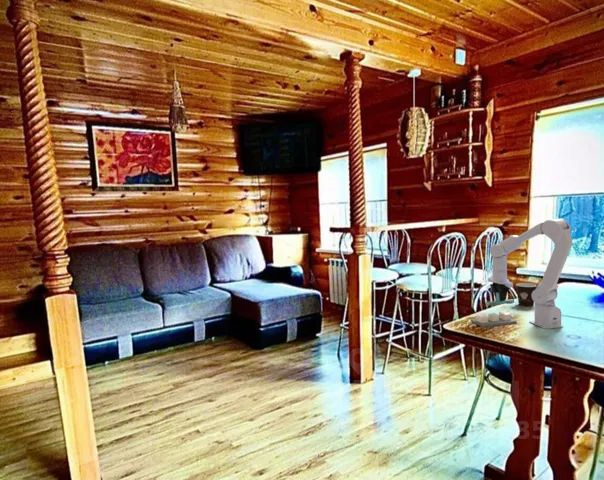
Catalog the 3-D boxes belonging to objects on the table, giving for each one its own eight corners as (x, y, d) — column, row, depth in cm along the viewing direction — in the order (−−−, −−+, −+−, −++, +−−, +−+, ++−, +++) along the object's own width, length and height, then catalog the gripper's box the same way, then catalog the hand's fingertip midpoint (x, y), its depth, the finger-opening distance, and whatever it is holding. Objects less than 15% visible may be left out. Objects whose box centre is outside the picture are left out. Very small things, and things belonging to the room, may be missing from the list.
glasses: (510, 301, 182) (510, 290, 182) (515, 303, 178) (515, 292, 178) (484, 304, 180) (484, 293, 180) (489, 305, 176) (489, 295, 176)
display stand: (504, 317, 176) (504, 310, 175) (516, 323, 168) (516, 315, 168) (471, 321, 173) (471, 313, 173) (482, 327, 165) (482, 318, 165)
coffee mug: (512, 304, 196) (512, 284, 195) (524, 301, 199) (524, 282, 198) (533, 309, 185) (533, 288, 184) (546, 307, 188) (546, 286, 187)
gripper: (519, 272, 171) (519, 302, 173) (497, 267, 186) (497, 295, 187) (504, 273, 170) (504, 304, 171) (483, 268, 184) (484, 297, 186)
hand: (500, 300), depth 179 cm, fingers closed on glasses, 2 cm apart
